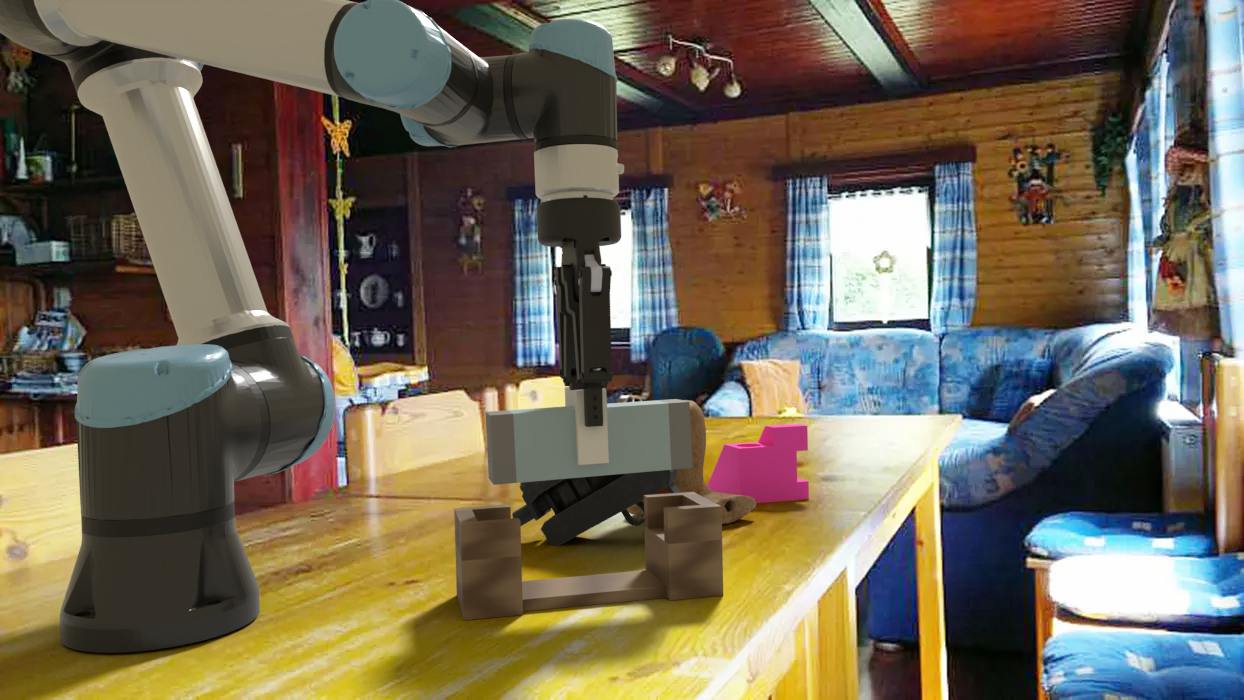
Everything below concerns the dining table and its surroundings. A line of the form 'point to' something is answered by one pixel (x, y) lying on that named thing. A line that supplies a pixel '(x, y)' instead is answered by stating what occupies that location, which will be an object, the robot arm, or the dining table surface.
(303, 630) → the dining table surface
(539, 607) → the posts
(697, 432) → the brown boot
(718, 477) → the bracket
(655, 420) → the rail
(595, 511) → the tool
